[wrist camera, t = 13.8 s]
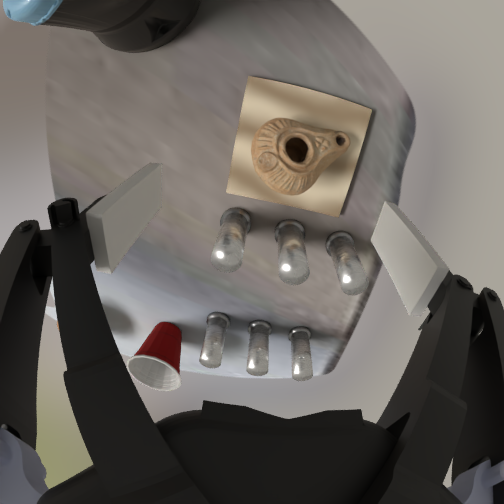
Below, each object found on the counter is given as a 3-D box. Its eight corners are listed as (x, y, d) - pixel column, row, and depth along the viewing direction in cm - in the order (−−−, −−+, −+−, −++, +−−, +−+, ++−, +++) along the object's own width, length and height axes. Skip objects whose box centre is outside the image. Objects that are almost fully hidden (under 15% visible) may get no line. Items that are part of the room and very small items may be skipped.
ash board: (249, 76, 29) (248, 76, 28) (369, 109, 29) (372, 109, 29) (227, 190, 37) (226, 192, 36) (336, 214, 38) (338, 217, 37)
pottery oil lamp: (350, 173, 34) (366, 190, 28) (262, 185, 35) (260, 205, 29) (342, 108, 29) (359, 112, 23) (248, 121, 31) (243, 127, 25)
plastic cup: (197, 321, 51) (183, 371, 41) (190, 351, 57) (178, 396, 47) (145, 305, 50) (123, 351, 40) (144, 337, 56) (127, 380, 46)
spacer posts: (223, 205, 38) (209, 239, 30) (356, 234, 39) (377, 273, 31) (206, 325, 52) (196, 366, 43) (306, 341, 53) (310, 382, 44)
